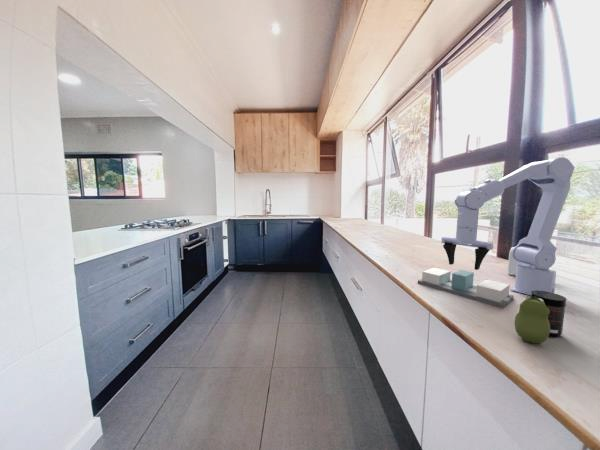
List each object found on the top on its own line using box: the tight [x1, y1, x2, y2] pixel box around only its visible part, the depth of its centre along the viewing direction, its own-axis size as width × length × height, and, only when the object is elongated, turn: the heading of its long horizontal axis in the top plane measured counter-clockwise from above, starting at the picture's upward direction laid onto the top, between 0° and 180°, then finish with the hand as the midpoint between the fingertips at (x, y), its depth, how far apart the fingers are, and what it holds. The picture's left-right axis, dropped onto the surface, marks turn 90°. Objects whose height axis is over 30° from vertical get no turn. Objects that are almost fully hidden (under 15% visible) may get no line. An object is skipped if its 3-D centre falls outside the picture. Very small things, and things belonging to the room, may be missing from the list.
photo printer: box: [507, 246, 517, 277], centre depth 95 cm, size 10×4×12 cm, turn 39°
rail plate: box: [417, 267, 514, 309], centre depth 82 cm, size 25×11×4 cm, turn 36°
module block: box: [451, 269, 475, 291], centre depth 82 cm, size 4×7×5 cm, turn 126°
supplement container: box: [529, 290, 568, 338], centre depth 56 cm, size 6×6×9 cm
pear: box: [514, 295, 550, 344], centre depth 52 cm, size 6×5×10 cm
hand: (463, 266), depth 81 cm, fingers open, 7 cm apart
